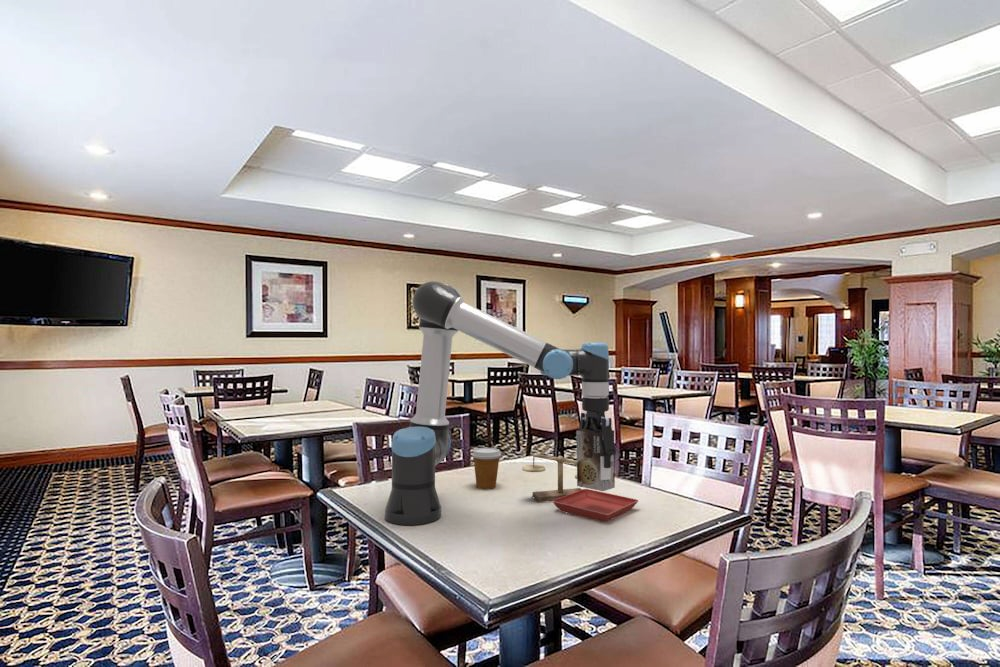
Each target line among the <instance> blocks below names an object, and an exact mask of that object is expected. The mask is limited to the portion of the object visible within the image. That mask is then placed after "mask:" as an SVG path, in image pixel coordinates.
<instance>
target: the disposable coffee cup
mask: <svg viewBox="0 0 1000 667" xmlns="http://www.w3.org/2000/svg"><path fill="white" fill-rule="evenodd" d="M471 455H472V457H473V458H472V459H473V468H474V475H475V483H476V488H477V487H478V488H477V489H480V488H482V489H481V490H491V489H490V488H492V489H495V488H496V486H497V478H498V470H499V462H500V457H501V455H502V454H501V452H500V449H499V448H494V447H478V448H477V447H476V448H474V449H473V451H472V453H471ZM494 487H495V488H494Z"/></svg>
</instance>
